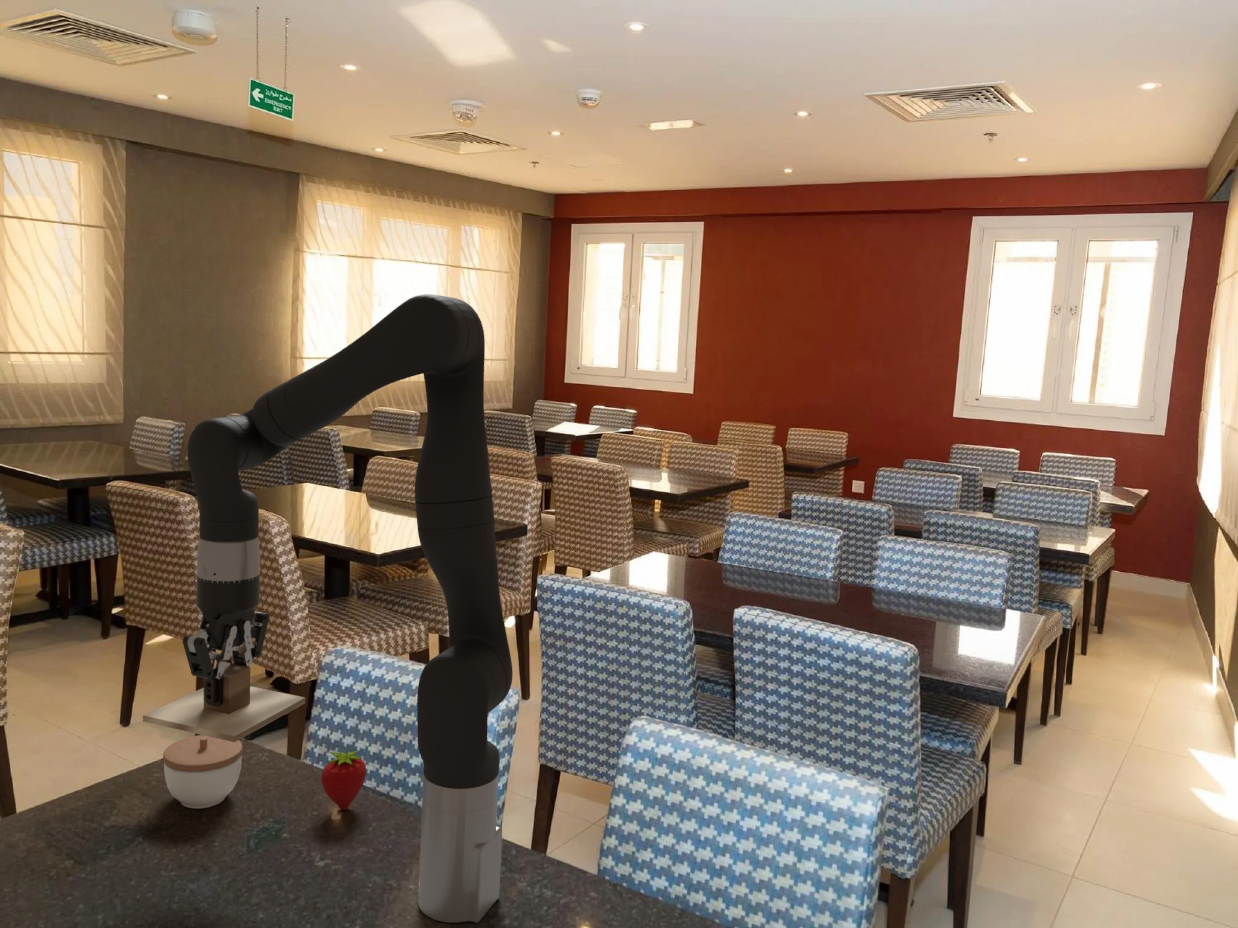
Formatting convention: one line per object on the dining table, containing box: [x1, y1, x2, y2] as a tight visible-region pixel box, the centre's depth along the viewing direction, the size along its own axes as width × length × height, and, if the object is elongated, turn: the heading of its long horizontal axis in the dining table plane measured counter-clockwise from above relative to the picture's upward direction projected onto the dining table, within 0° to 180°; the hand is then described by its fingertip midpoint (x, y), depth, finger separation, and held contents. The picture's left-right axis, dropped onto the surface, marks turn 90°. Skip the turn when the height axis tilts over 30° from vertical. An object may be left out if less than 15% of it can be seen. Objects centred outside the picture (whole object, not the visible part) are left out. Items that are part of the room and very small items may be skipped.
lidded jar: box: [162, 734, 243, 809], centre depth 143 cm, size 11×11×9 cm
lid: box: [142, 662, 306, 742], centre depth 127 cm, size 14×14×6 cm
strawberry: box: [320, 742, 367, 810], centre depth 142 cm, size 6×8×10 cm
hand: (227, 697), depth 127 cm, fingers closed on lid, 4 cm apart
